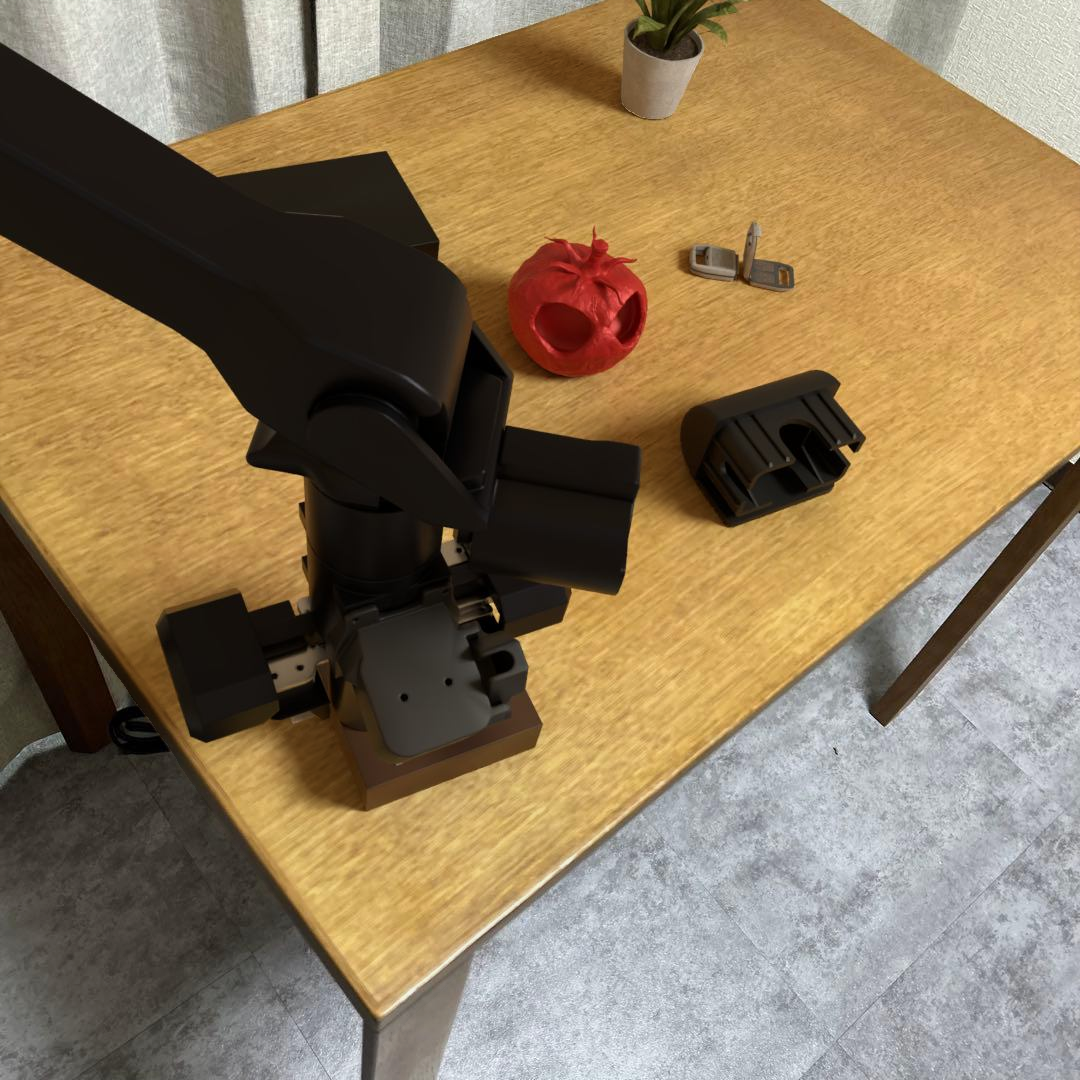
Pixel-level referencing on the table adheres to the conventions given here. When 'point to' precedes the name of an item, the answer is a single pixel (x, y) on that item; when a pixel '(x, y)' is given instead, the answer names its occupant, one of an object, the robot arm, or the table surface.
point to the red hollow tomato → (576, 307)
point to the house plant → (665, 52)
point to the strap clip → (727, 264)
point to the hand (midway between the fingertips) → (368, 696)
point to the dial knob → (344, 702)
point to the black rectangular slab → (345, 195)
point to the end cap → (769, 446)
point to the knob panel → (404, 779)
